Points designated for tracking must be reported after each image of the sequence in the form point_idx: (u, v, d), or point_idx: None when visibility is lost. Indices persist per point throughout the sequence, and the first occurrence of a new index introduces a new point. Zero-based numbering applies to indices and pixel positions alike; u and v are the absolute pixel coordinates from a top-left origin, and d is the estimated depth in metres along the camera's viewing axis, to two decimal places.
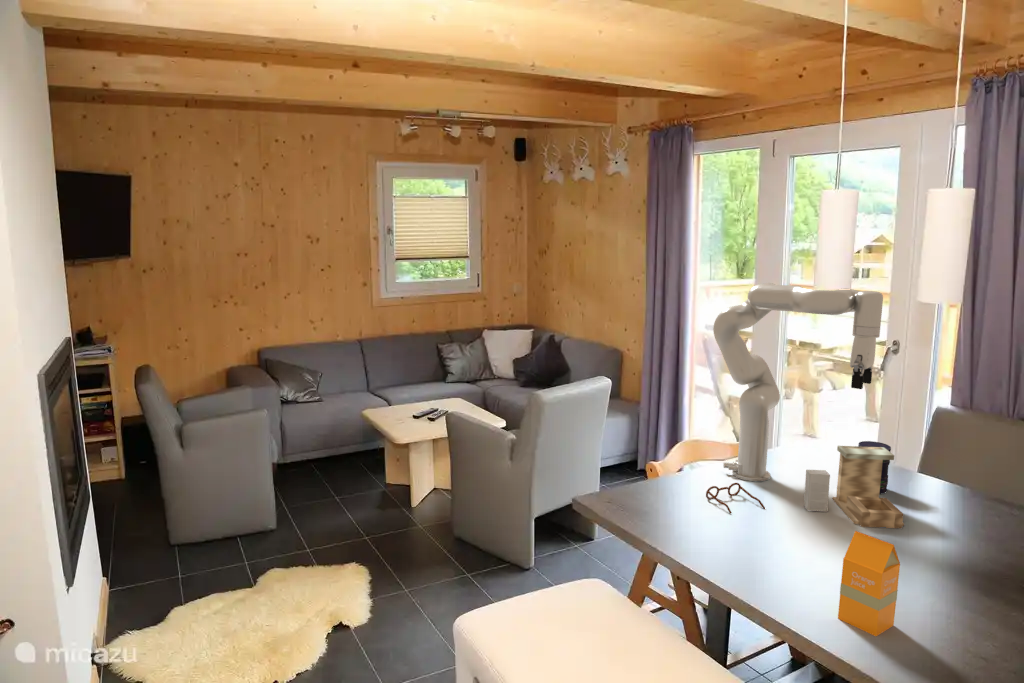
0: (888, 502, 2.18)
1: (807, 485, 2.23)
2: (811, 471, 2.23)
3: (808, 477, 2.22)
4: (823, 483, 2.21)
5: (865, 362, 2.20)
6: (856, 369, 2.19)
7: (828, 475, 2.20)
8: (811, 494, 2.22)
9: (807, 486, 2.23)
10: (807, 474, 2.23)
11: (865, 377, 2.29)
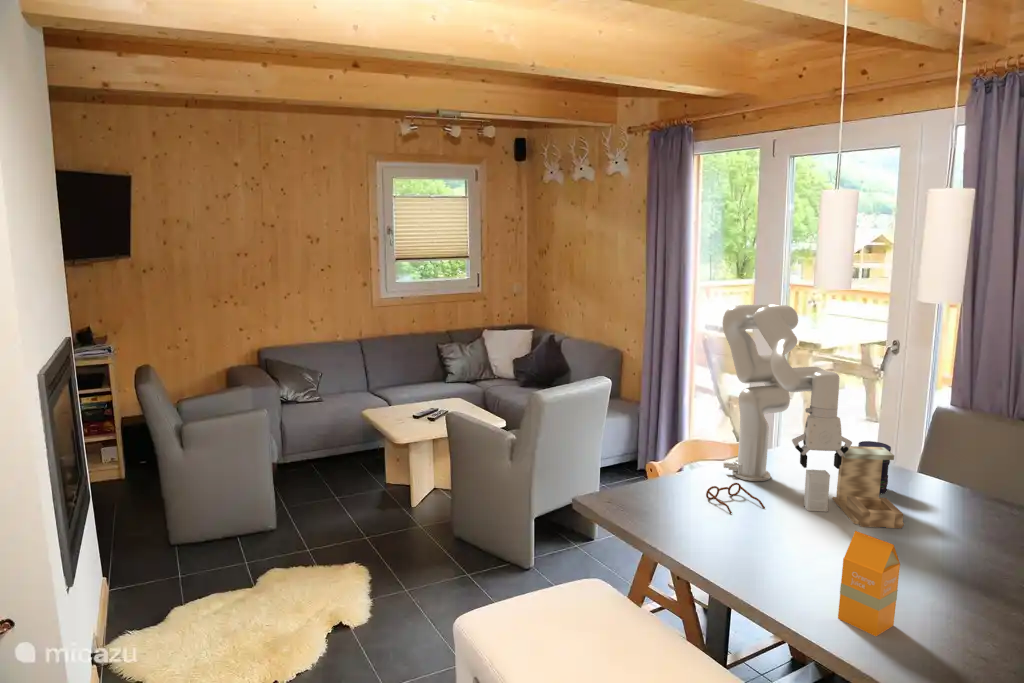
0: (888, 502, 2.18)
1: (807, 485, 2.23)
2: (811, 471, 2.23)
3: (808, 477, 2.22)
4: (823, 483, 2.21)
5: None
6: None
7: (828, 475, 2.20)
8: (811, 494, 2.22)
9: (807, 486, 2.23)
10: (807, 474, 2.23)
11: None
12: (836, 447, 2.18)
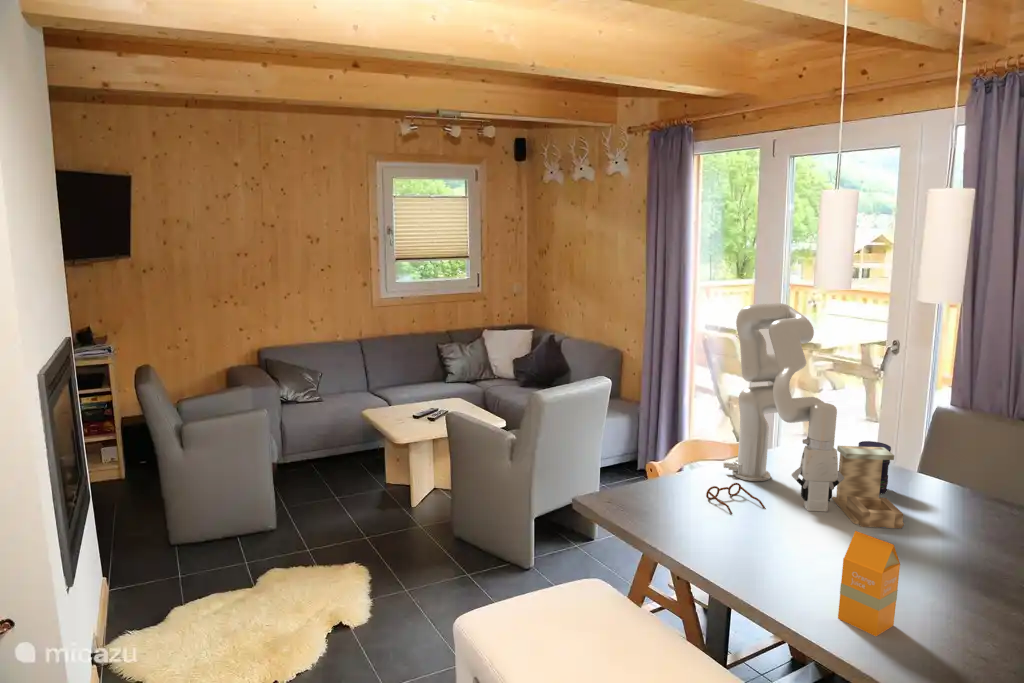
0: (888, 502, 2.18)
1: None
2: None
3: None
4: (823, 483, 2.21)
5: None
6: None
7: None
8: (811, 494, 2.22)
9: (807, 486, 2.23)
10: None
11: None
12: (832, 478, 2.20)
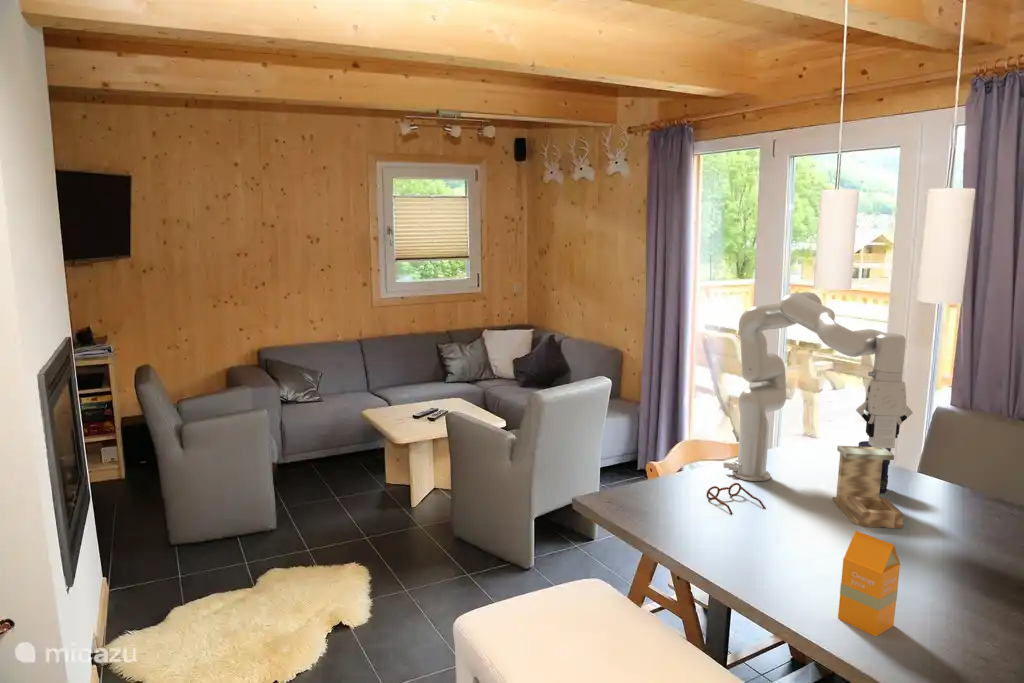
0: (888, 502, 2.18)
1: None
2: None
3: None
4: (891, 418, 2.10)
5: None
6: None
7: None
8: (878, 429, 2.11)
9: (873, 421, 2.11)
10: None
11: None
12: (900, 412, 2.09)
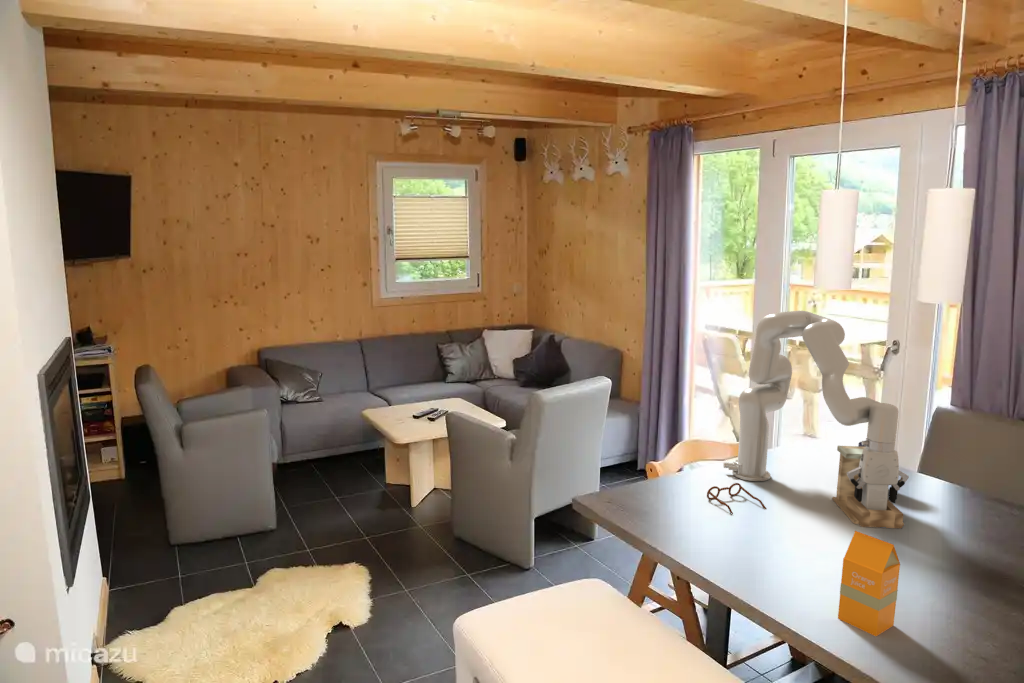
0: (888, 502, 2.18)
1: (865, 491, 2.16)
2: None
3: (866, 484, 2.15)
4: (882, 490, 2.14)
5: None
6: None
7: None
8: (869, 501, 2.14)
9: (865, 493, 2.15)
10: None
11: None
12: (893, 481, 2.12)
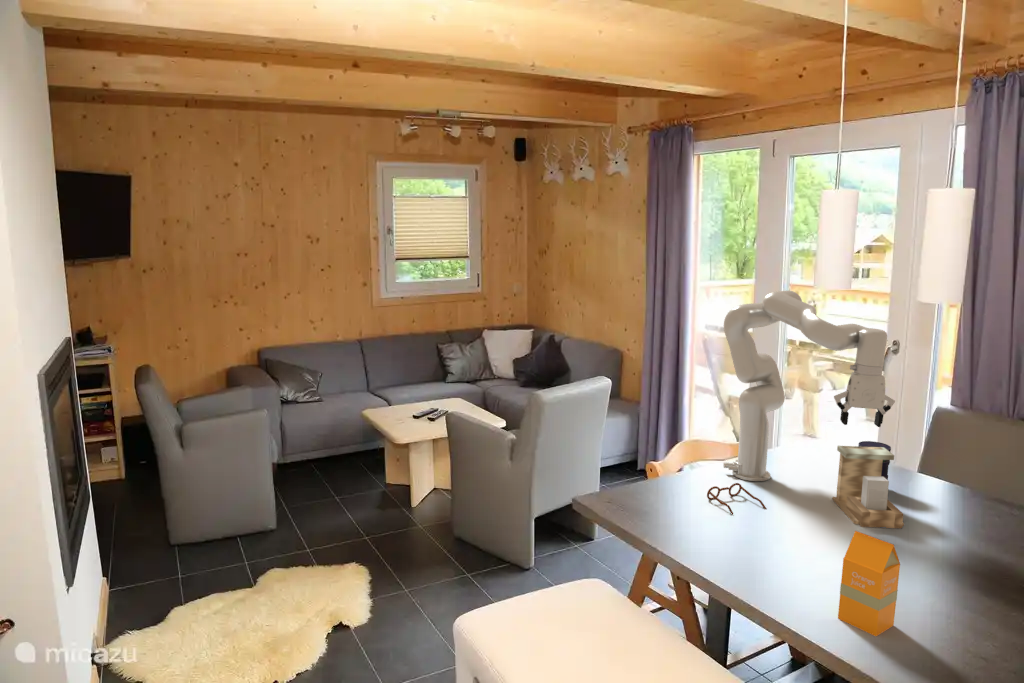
0: (888, 502, 2.18)
1: (865, 491, 2.16)
2: (869, 477, 2.16)
3: (866, 484, 2.15)
4: (882, 490, 2.14)
5: None
6: None
7: (887, 481, 2.13)
8: (869, 501, 2.14)
9: (865, 493, 2.15)
10: (864, 480, 2.16)
11: None
12: (879, 405, 2.16)
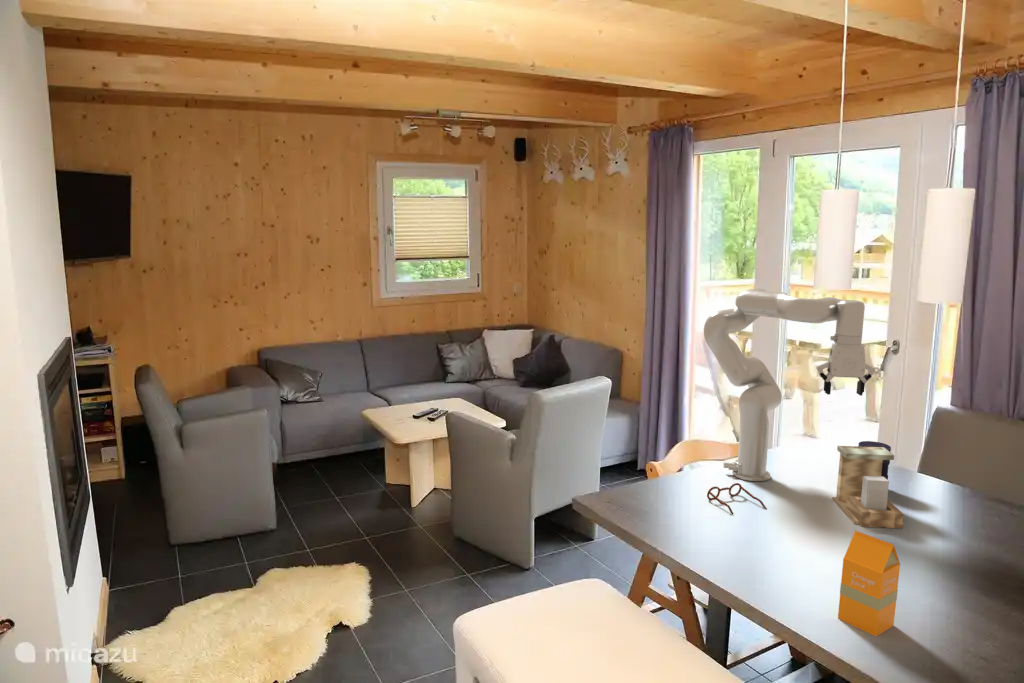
0: (888, 502, 2.18)
1: (865, 491, 2.16)
2: (869, 477, 2.16)
3: (866, 484, 2.15)
4: (882, 490, 2.14)
5: None
6: None
7: (887, 481, 2.13)
8: (869, 501, 2.14)
9: (865, 493, 2.15)
10: (864, 480, 2.16)
11: None
12: (860, 374, 2.24)
